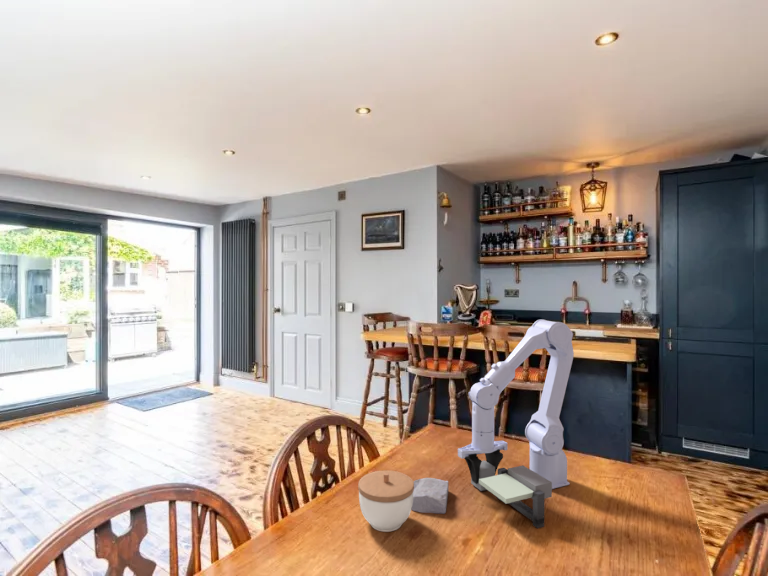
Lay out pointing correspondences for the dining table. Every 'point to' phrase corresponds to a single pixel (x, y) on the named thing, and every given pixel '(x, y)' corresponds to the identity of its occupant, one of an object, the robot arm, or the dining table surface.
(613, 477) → the dining table surface
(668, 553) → the dining table surface
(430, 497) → the stone block
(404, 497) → the lidded bowl
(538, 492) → the frame
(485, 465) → the grey rectangular block
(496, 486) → the trapdoor
